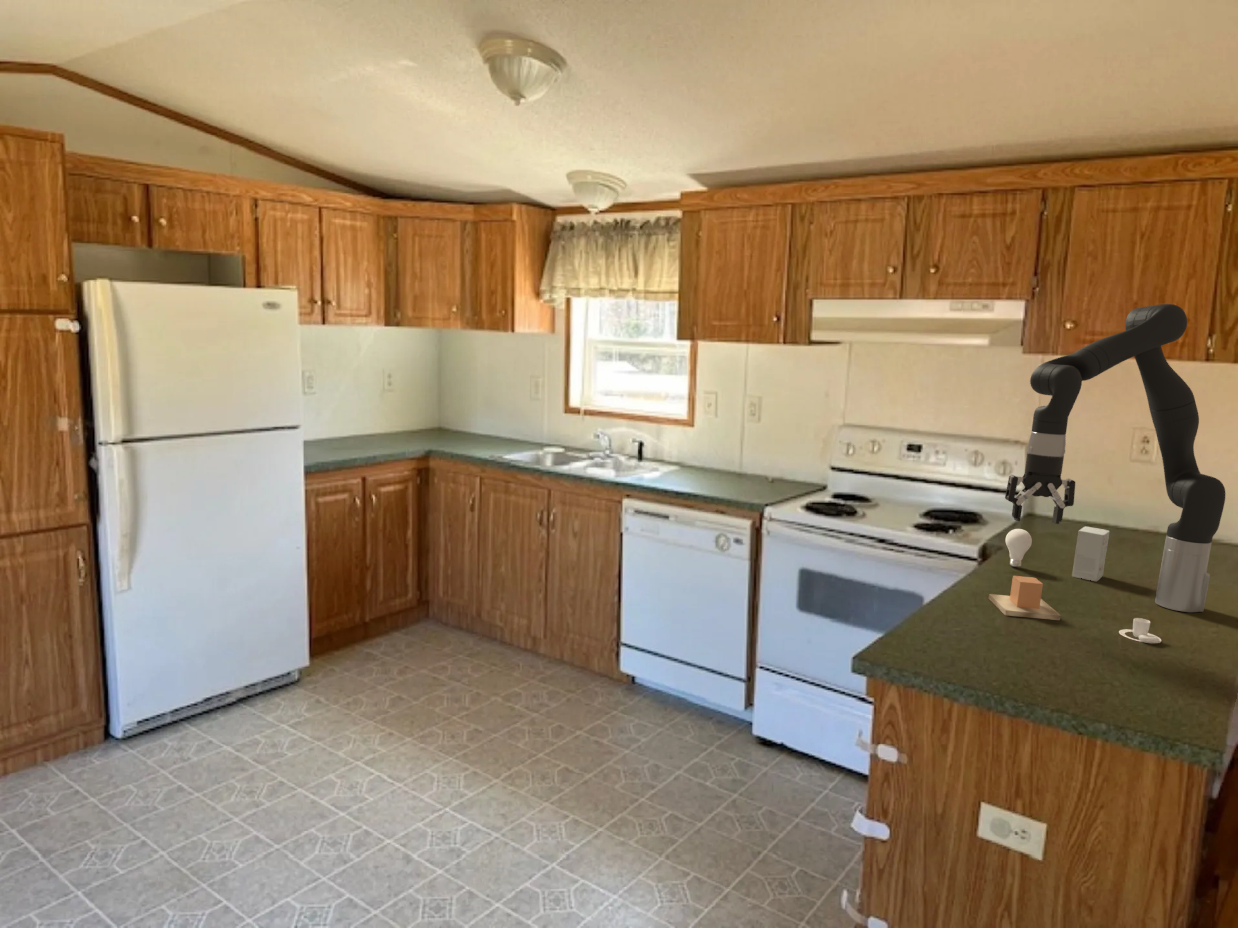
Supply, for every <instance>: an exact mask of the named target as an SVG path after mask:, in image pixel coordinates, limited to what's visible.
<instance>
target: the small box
mask: <svg viewBox="0 0 1238 928" xmlns="http://www.w3.org/2000/svg"><path fill="white" fill-rule="evenodd" d="M1110 531H1111V530H1107V529H1102V528H1097V527H1091V526H1083V527H1082V528H1080V529H1079V530H1078V531H1077V532H1078V533H1077V538H1076V546H1075V551H1074V559H1073V567H1072V572H1071V577H1072V578H1077V579H1081V578H1082V580H1087V581H1090V580H1091V581H1092V582H1098V581H1100V579H1101V578H1102V577H1103V576H1104V569H1105V565H1106V564H1105V562H1106V555H1107V550H1108V545H1109V537H1110Z"/></svg>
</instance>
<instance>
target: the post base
mask: <svg viewBox="0 0 1238 928" xmlns="http://www.w3.org/2000/svg"><path fill="white" fill-rule="evenodd" d="M988 600H989V601H991V603H992V604H993V605H994V606H996V608H997V609H998V610H999V611H1000V612H1001V613H1002V615H1004V616H1009V617H1010V616H1011V617H1022V618H1030V619H1042V620H1051V621H1052V620H1053V621H1061V617H1062V615H1061V614H1060V613H1059V612H1058V611H1056V610H1055V609H1054V608H1053V607H1051V606H1050V604H1049V603H1047V602H1045V601H1044V599H1043V598H1041V601H1040V608H1039V609H1036V608H1025V607H1017V606H1015V605H1014V604H1013V603H1012V602H1011V601H1010V595H1004V594H993V593H989V594H988Z"/></svg>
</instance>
